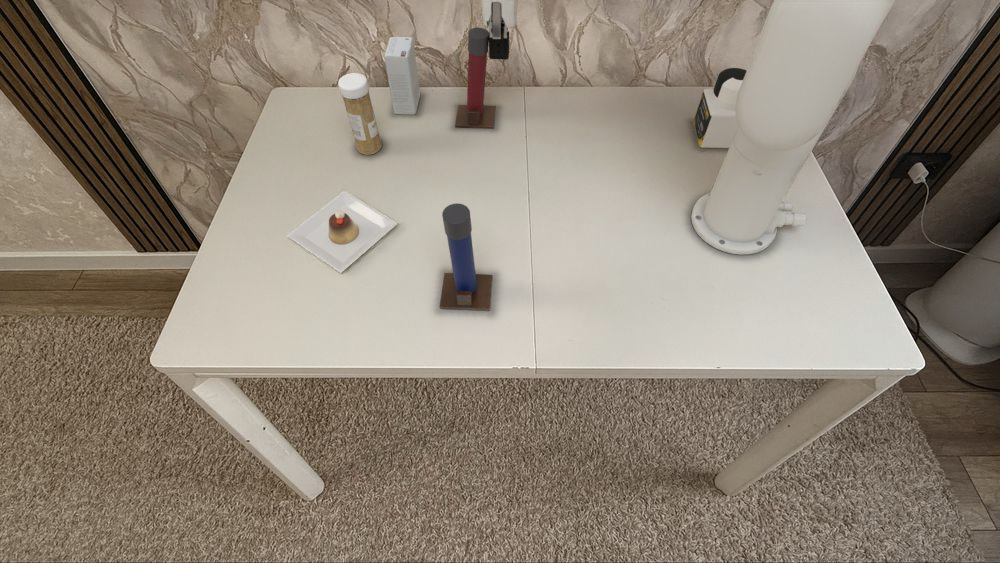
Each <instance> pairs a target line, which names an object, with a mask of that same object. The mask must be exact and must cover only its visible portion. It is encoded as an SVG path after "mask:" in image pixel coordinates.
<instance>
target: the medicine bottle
mask: <svg viewBox="0 0 1000 563" xmlns="http://www.w3.org/2000/svg"><path fill="white" fill-rule="evenodd" d="M746 71H747V69H744V68H739V67H729V68H725V69H723V70H721V71H720V72H719V73H718V75H717V78H716V81H715V83H714V87H713V88H705V89H703V92H702V94H701V97H700V100H699V103H698V106H697V108H696V112H695V115H694V118H693V122H692V124H693V127H694V130H695V135H696V138H697V143H698V146H699V148H701V149H702V148H703V149H729V148H730V145H731V143H732V140H733V138H734V136H735V133H736V131H737V129H738V127H739V125H738V122H737V118H736V101H737V97H738V93H739V90H740V87H741V84H742V82H743V79H744V76H745V74H746Z"/></svg>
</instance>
